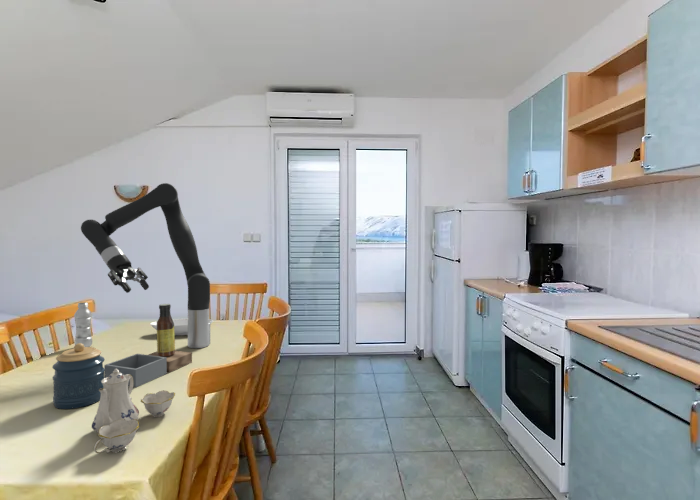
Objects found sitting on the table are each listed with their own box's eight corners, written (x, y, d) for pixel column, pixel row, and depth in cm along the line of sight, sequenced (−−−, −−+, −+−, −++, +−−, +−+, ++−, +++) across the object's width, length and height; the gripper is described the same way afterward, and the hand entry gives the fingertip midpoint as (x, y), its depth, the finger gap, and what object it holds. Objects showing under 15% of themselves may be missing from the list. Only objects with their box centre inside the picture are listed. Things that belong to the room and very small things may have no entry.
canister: (48, 413, 108) (47, 352, 107) (58, 396, 119) (57, 340, 119) (102, 404, 114) (102, 346, 113) (107, 389, 125) (106, 335, 125)
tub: (137, 369, 144) (137, 353, 144) (166, 373, 140) (166, 357, 140) (104, 382, 131) (104, 365, 131) (135, 387, 127) (135, 369, 127)
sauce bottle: (178, 354, 150) (178, 303, 150) (164, 358, 145) (164, 306, 144) (166, 351, 153) (166, 302, 152) (153, 355, 147) (152, 304, 147)
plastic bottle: (83, 350, 166) (83, 304, 165) (70, 349, 167) (70, 303, 166) (96, 346, 172) (95, 302, 171) (83, 345, 174) (83, 301, 173)
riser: (163, 358, 157) (163, 348, 157) (191, 362, 153) (191, 352, 152) (139, 368, 145) (139, 357, 145) (169, 372, 141) (169, 361, 141)
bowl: (214, 328, 207) (214, 317, 207) (211, 335, 193) (211, 324, 193) (153, 331, 200) (153, 320, 199) (146, 339, 185) (146, 326, 185)
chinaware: (130, 467, 86) (138, 395, 86) (54, 461, 85) (61, 388, 85) (178, 411, 114) (184, 356, 114) (121, 406, 113) (127, 351, 113)
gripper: (104, 254, 146) (128, 285, 143) (135, 252, 160) (157, 281, 157) (94, 267, 148) (117, 298, 145) (126, 265, 161) (147, 293, 158)
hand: (138, 289), depth 151 cm, fingers open, 8 cm apart
